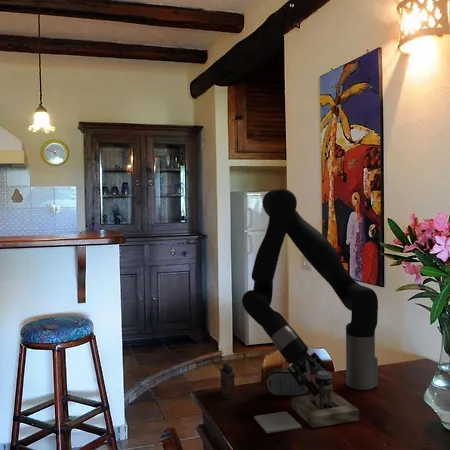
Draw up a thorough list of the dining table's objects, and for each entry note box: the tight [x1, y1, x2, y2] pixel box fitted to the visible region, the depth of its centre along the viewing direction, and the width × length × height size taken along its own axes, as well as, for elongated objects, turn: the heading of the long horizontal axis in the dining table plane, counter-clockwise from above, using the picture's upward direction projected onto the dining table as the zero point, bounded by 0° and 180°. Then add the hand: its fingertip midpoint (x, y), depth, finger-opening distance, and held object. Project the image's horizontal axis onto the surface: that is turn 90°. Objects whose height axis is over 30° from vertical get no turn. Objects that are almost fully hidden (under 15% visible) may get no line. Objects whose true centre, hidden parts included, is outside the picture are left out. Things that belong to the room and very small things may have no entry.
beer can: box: [314, 370, 333, 410], centre depth 140 cm, size 5×5×12 cm
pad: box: [253, 410, 302, 434], centre depth 135 cm, size 10×10×1 cm
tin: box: [264, 367, 313, 397], centre depth 155 cm, size 15×3×8 cm, turn 84°
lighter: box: [219, 361, 236, 400], centre depth 156 cm, size 8×3×10 cm, turn 23°
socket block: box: [290, 391, 360, 429], centre depth 141 cm, size 14×14×3 cm
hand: (324, 389), depth 140 cm, fingers open, 8 cm apart
